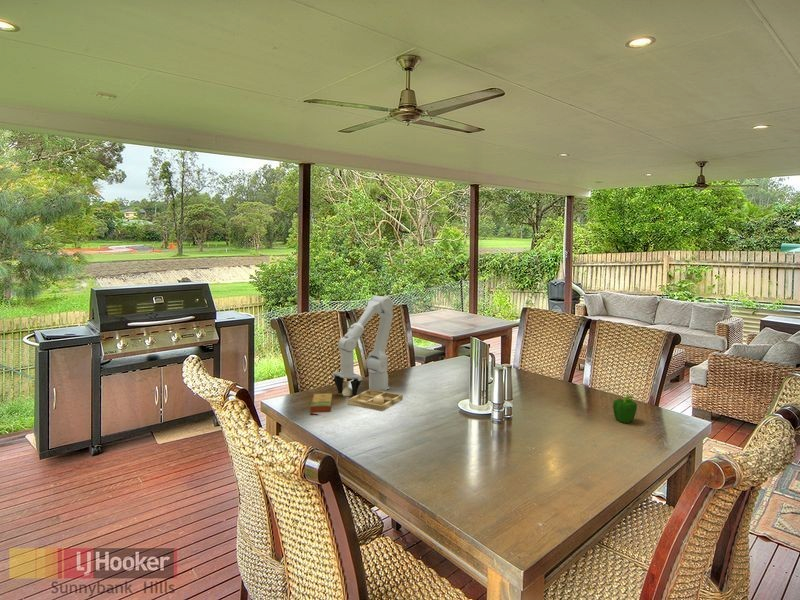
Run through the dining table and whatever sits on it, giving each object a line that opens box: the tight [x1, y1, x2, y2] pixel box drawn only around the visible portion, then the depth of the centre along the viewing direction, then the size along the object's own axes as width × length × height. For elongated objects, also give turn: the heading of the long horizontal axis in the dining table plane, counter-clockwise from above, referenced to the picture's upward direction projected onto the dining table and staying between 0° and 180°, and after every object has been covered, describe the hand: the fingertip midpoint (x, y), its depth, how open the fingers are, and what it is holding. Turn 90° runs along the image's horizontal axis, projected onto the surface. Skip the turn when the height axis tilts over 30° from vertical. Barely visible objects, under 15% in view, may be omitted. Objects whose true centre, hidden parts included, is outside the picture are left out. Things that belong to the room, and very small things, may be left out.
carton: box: [309, 393, 333, 416], centre depth 202 cm, size 8×16×4 cm, turn 6°
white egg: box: [341, 386, 353, 397], centre depth 216 cm, size 5×5×5 cm
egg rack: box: [347, 388, 404, 412], centre depth 207 cm, size 17×17×3 cm
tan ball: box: [373, 395, 384, 405], centre depth 201 cm, size 5×5×5 cm
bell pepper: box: [612, 395, 638, 424], centre depth 188 cm, size 8×8×10 cm
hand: (347, 394), depth 216 cm, fingers open, 7 cm apart
